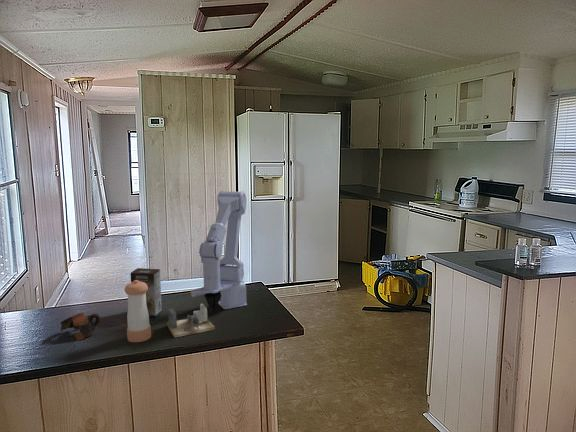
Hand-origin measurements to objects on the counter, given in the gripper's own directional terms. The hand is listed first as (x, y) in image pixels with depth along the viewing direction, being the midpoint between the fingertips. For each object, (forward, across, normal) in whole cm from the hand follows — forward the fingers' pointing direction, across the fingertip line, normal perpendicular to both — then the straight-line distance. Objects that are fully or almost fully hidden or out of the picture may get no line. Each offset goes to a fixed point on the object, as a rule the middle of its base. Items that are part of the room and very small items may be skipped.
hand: (212, 312), depth 153 cm
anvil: (+3, -14, 0) cm, 14 cm away
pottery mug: (+3, -42, +10) cm, 43 cm away
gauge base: (+3, -8, -2) cm, 9 cm away
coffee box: (+3, -19, +19) cm, 27 cm away
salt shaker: (+3, -25, -2) cm, 26 cm away
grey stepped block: (+1, -6, -1) cm, 6 cm away
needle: (+1, -7, -5) cm, 9 cm away
